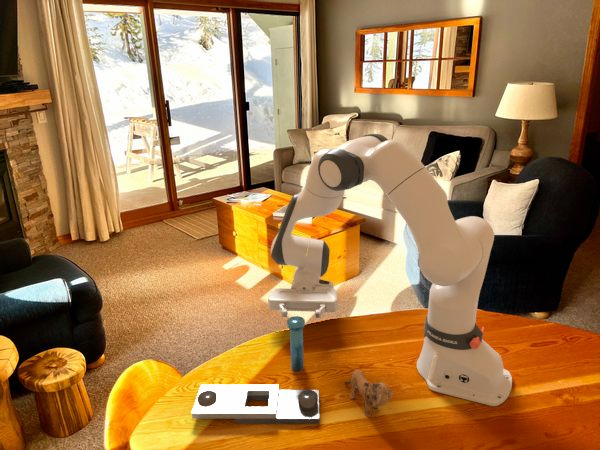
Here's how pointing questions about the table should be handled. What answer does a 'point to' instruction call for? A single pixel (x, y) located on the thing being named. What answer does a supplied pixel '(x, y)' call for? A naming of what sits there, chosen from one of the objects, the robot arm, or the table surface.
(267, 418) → the latch plate
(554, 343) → the table surface
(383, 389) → the lion figurine
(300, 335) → the pin
